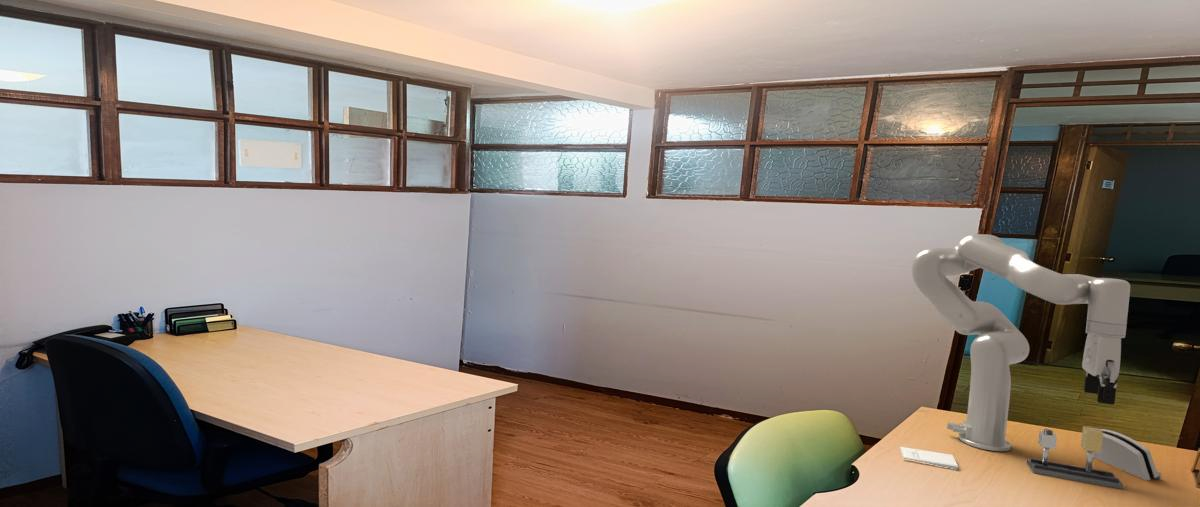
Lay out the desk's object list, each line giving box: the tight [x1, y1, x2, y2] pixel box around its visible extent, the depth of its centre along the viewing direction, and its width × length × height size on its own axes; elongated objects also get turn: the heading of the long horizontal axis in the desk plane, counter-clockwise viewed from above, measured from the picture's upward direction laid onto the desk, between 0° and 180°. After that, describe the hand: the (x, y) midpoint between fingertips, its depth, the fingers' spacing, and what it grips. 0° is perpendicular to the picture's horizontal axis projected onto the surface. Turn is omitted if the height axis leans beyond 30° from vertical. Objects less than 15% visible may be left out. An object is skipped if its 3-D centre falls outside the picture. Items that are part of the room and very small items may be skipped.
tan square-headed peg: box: [1080, 425, 1103, 472], centre depth 153 cm, size 3×3×11 cm
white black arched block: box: [1085, 428, 1163, 481], centre depth 162 cm, size 17×5×10 cm, turn 8°
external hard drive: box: [899, 446, 959, 471], centre depth 160 cm, size 2×8×12 cm
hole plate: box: [1026, 428, 1124, 490], centre depth 154 cm, size 18×7×10 cm, turn 66°
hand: (1098, 398), depth 152 cm, fingers open, 9 cm apart
